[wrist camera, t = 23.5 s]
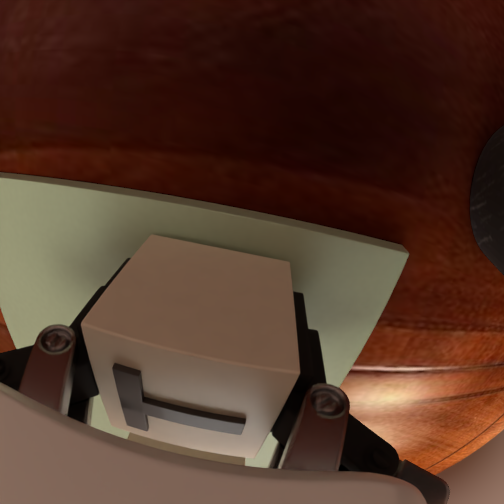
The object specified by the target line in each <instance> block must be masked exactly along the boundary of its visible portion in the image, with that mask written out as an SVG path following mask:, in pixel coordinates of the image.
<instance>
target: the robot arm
mask: <svg viewBox="0 0 504 504" xmlns="http://www.w3.org/2000/svg"><path fill="white" fill-rule="evenodd" d="M130 259H131V258H127V259H126V260H125V262H124V263H123V264H122V265H121V266H120V267H119V269H118V270H117V271H116V272H115V274H114V275H113V276H112V277H111V278H110V280H109V281H108V282H107V283H106V285H105V286H101V287H100V288H99V289H98V290H97V291H96V292H95V294H94V295H93V296H92V297H91V299H90V300H89V301H88V303H87V304H86V305H85V306H84V308H83V309H82V310H81V311H80V313H79V314H78V315H77V317H76V318H75V319H74V321H73V322H72V323H71V325H70V326H69V327H68V326H66V325H62V324H54V325H50V326H48V327H46V328H44V329H43V330H42V331H40V333H39V334H38V336H37V338H36V341H35V343H34V345H31V346H27V347H23V348H19V349H15V350H11V351H7V352H3V353H0V504H447V501H448V499H449V495H450V490H449V486H448V484H447V483H446V482H445V481H444V480H442V479H441V478H439V477H437V476H435V475H433V474H432V473H430V472H428V471H426V470H424V469H422V468H420V467H418V466H417V465H415V464H413V463H411V462H409V461H408V460H406V459H405V460H404V461H401V460H399V456H398V453H397V452H396V450H395V449H394V448H393V447H392V446H391V445H390V444H389V443H387V442H386V441H385V440H383V439H382V438H381V437H379V436H378V435H377V434H375V433H374V432H373V431H371V430H370V429H369V428H367V427H366V426H365V425H363V424H362V423H361V422H360V421H358V420H357V419H356V418H354V417H353V416H352V415H351V414H349V409H350V402H349V399H348V397H347V395H346V394H345V393H344V391H342V390H341V389H340V388H338V387H337V386H334V385H332V384H327V382H326V375H325V369H324V362H323V356H322V350H321V344H320V338H319V333H318V331H317V330H314V329H308V323H307V316H306V309H305V302H304V295H303V293H300V292H294V291H293V297H294V307H295V318H296V329H297V340H298V352H299V364H300V374H299V376H298V379H297V381H296V383H295V385H294V387H293V389H292V391H291V393H290V395H289V397H288V399H287V400H286V402H285V404H284V406H283V408H282V410H281V412H280V414H279V416H278V418H277V419H276V421H275V423H274V425H273V427H272V429H271V430H270V432H272V436H273V437H274V438H275V439H276V440H277V444H276V446H275V449H274V452H273V454H272V457H271V459H270V462H269V464H268V467H267V468H261V467H251V466H243V465H236V464H229V463H222V462H216V461H211V460H205V459H200V458H195V457H191V456H186V455H181V454H177V453H173V452H169V451H165V450H161V449H157V448H154V447H150V446H147V445H143V444H140V443H137V442H134V441H130V440H127V439H124V438H121V437H118V436H116V435H113V434H110V433H107V432H104V431H102V430H99V429H96V428H94V427H91V420H92V410H93V402H94V396H97V395H98V394H99V390H98V386H97V383H96V380H95V377H94V374H93V370H92V367H91V363H90V360H89V356H88V352H87V348H86V344H85V340H84V336H83V332H82V327H81V322H82V321H83V319H84V318H85V317H86V315H87V314H88V313H89V311H90V310H91V309H92V307H93V306H94V305H95V303H96V302H97V301H98V299H99V298H100V297H101V295H102V294H103V293H104V291H105V290H106V289H107V288H108V286H109V285H110V284H111V282H112V281H113V280H114V279H115V277H116V276H117V275H118V274H119V272H120V271H121V270H122V269H123V267H124V266H125V265H126V264H127V263H128V261H129V260H130Z"/></svg>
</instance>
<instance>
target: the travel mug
mask: <svg viewBox="0 0 504 504" xmlns="http://www.w3.org/2000/svg"><path fill="white" fill-rule="evenodd" d="M470 219H471V225H472V230H473V234H474V237H475V239H476V242H477V244H478V246H479V247H480V249H481V251H482V252H483V253H484V254H485V256H486V257H487V258H488V259H489V260H490V261H491V262H492V263H493V264H494V265H495V266H496V267H497V269H498V270H499V271H500V272H501V273H502V274H503V275H504V126H502V127H501V128H499V129H498V130H497V131H496V132H495V133H494V134H493V135H492V137H491V138H490V139H489V140H488V142H487V144H486V145H485V147H484V149H483V151H482V153H481V155H480V157H479V160H478V163H477V166H476V169H475V173H474V176H473V181H472V187H471V195H470Z"/></svg>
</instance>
